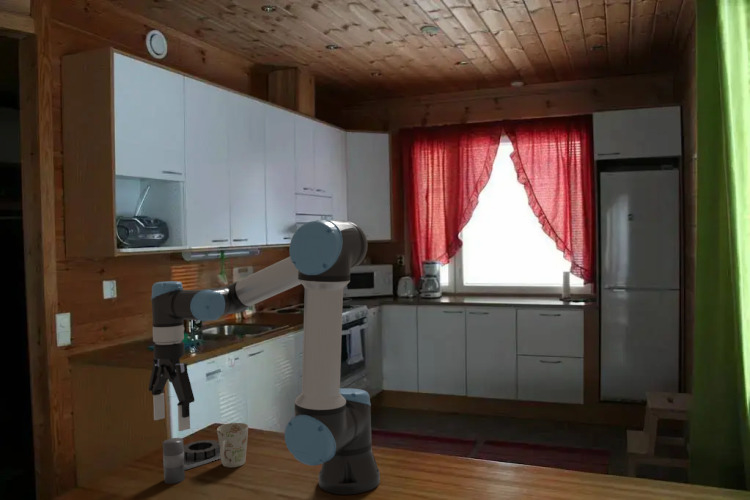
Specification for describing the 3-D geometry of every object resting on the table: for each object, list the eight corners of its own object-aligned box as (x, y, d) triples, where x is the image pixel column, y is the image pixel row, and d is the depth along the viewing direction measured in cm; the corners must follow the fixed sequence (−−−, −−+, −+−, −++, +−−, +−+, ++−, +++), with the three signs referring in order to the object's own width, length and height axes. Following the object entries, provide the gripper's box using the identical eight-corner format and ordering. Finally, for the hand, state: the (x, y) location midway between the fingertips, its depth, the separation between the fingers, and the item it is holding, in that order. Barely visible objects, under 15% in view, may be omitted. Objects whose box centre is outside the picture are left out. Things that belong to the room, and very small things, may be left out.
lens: (188, 479, 157) (187, 440, 157) (169, 485, 153) (168, 445, 153) (179, 474, 161) (177, 436, 160) (160, 480, 157) (159, 441, 157)
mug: (253, 458, 171) (252, 422, 171) (239, 475, 158) (237, 437, 158) (224, 458, 172) (223, 422, 171) (207, 475, 159) (206, 437, 159)
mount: (236, 453, 175) (236, 443, 175) (185, 470, 163) (184, 459, 163) (215, 444, 183) (214, 434, 183) (164, 459, 172) (164, 449, 172)
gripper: (206, 345, 150) (209, 430, 151) (160, 335, 168) (163, 411, 168) (178, 349, 145) (181, 438, 145) (133, 338, 162) (136, 418, 163)
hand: (171, 424), depth 157 cm, fingers open, 13 cm apart
